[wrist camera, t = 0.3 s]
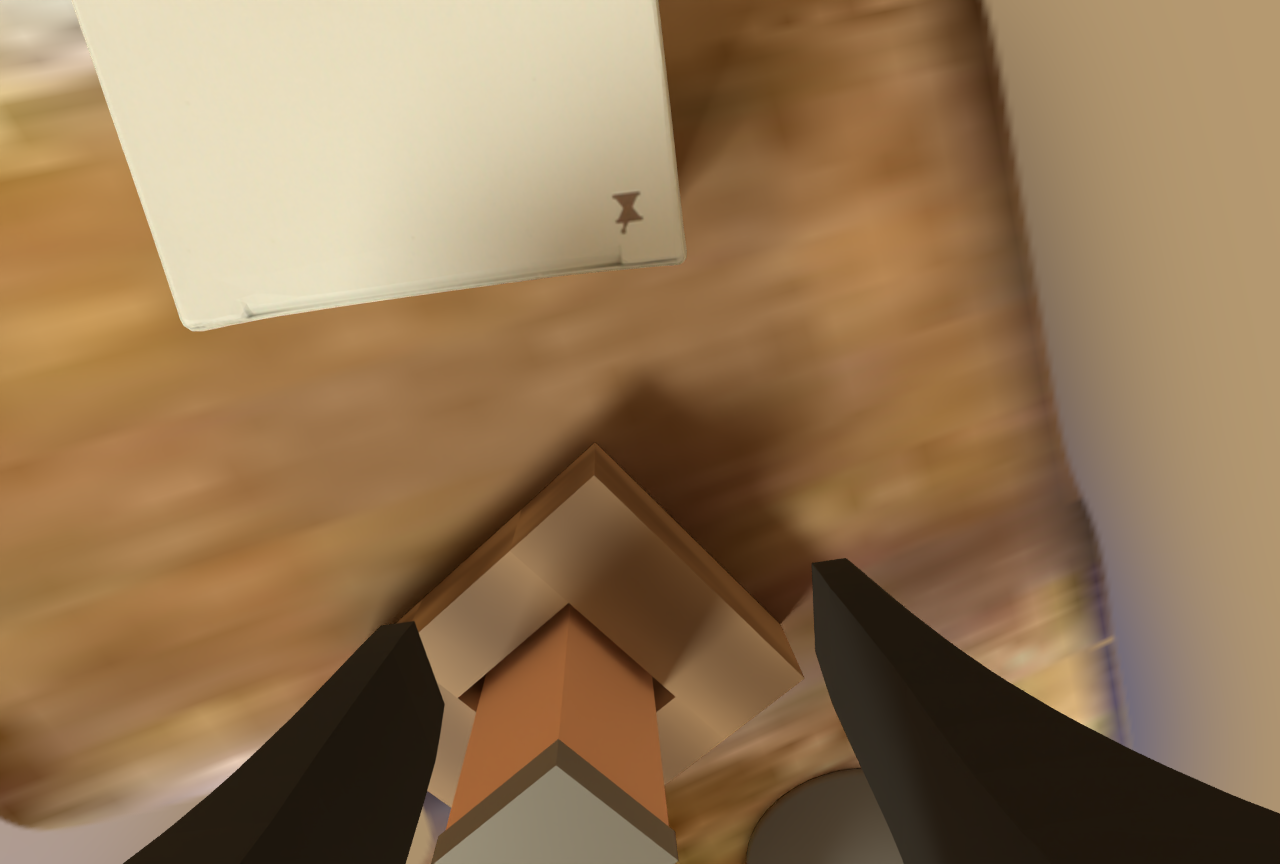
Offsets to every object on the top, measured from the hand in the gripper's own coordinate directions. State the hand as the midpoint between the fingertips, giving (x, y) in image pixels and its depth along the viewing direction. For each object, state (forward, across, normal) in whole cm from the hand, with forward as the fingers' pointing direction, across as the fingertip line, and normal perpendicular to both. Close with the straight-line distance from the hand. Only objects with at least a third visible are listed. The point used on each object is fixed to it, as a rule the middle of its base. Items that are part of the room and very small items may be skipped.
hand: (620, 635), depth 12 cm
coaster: (+8, -7, +21) cm, 24 cm away
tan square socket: (+10, +3, +8) cm, 13 cm away
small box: (+12, +2, -8) cm, 14 cm away
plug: (+10, +3, +8) cm, 13 cm away
